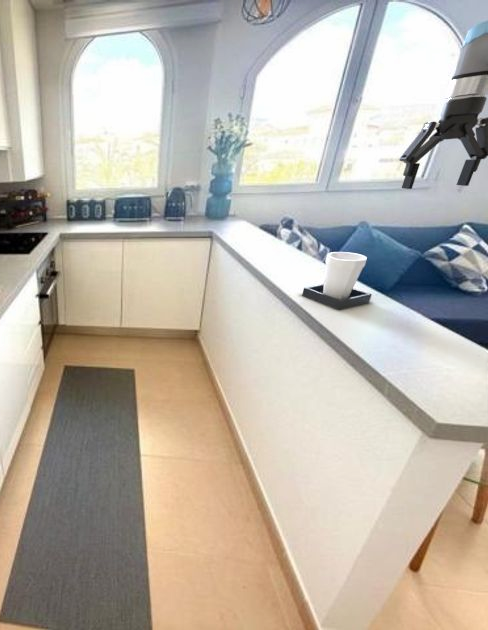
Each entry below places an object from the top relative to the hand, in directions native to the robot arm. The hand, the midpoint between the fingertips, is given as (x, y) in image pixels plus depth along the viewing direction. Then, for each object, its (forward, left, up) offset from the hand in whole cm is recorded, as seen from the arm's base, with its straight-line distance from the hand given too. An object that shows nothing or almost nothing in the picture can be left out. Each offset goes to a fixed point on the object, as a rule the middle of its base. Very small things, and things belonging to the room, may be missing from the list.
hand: (434, 187), depth 95 cm
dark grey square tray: (+3, +21, -32) cm, 38 cm away
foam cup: (+3, +21, -31) cm, 37 cm away
